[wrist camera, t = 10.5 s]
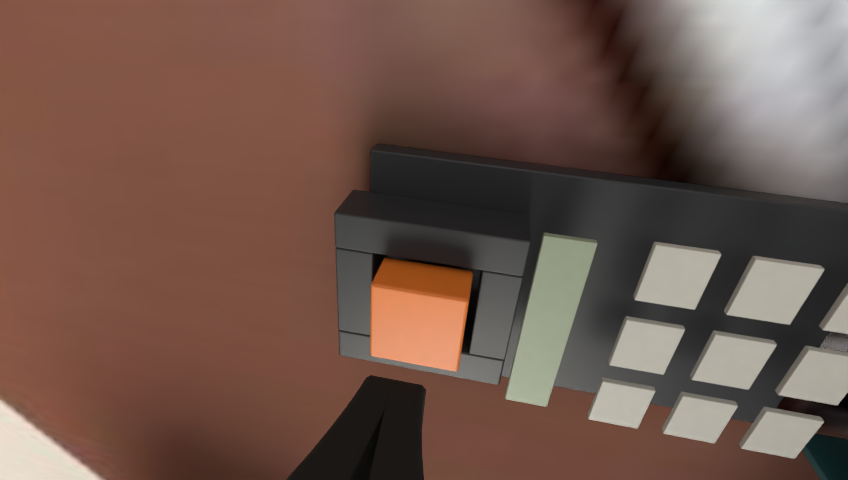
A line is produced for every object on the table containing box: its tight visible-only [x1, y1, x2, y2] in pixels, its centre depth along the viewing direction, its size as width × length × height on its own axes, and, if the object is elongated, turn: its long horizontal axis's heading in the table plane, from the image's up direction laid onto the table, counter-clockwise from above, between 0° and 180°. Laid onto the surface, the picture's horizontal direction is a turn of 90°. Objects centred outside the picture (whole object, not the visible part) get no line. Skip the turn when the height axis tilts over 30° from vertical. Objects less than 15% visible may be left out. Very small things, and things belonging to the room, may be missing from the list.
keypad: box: [505, 233, 848, 459], centre depth 13 cm, size 7×9×1 cm
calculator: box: [334, 144, 848, 423], centre depth 14 cm, size 16×8×2 cm, turn 86°
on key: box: [370, 258, 473, 372], centre depth 14 cm, size 3×3×2 cm
